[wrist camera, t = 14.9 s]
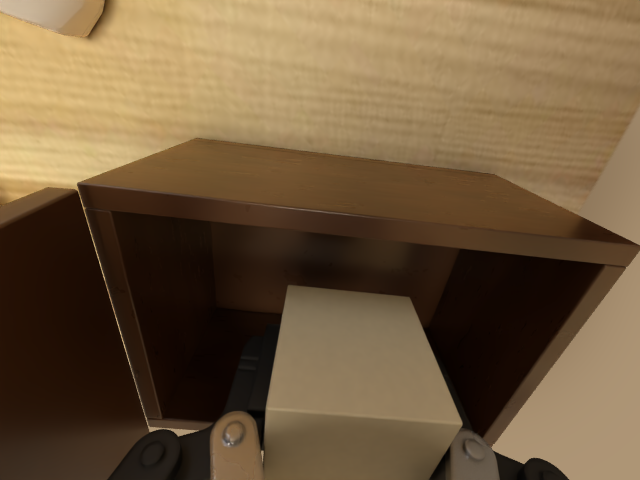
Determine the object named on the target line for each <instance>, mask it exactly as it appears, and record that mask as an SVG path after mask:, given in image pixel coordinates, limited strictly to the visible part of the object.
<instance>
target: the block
mask: <svg viewBox="0 0 640 480" xmlns="http://www.w3.org/2000/svg"><path fill="white" fill-rule="evenodd" d="M461 427H462V420H461V418H460V416H459V413H458V411H457V409H456V406H455V404H454V401H453V399H452V397H451V394H450V392H449V390H448V387H447V385H446V382H445V380H444V378H443V375H442V373H441V371H440V368H439V366H438V363H437V361H436V359H435V356H434V354H433V352H432V349H431V347H430V344H429V342H428V340H427V337H426V335H425V332H424V330H423V328H422V325H421V323H420V321H419V318H418V316H417V313H416V311H415V309H414V306H413V304H412V302H411V299H410V297H405V296H395V295H385V294H375V293H365V292H355V291H345V290H335V289H325V288H315V287H305V286H295V285H288V287H287V292H286V298H285V303H284V309H283V314H282V320H281V326H280V331H279V337H278V342H277V348H276V353H275V359H274V365H273V370H272V376H271V381H270V387H269V392H268V398H267V404H266V413H265V434H264V456H263V468H264V475H265V480H429V478H430V477H431V475H432V474H433V472H434V470H435V469H436V467H437V465H438V464H439V462H440V461H441V459H442V457H443V456H444V454H445V453H446V451H447V449H448V448H449V446H450V444H451V443H452V441H453V440H454V438H455V436H456V435H457V433H458V432H459V430H460V428H461Z"/></svg>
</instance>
